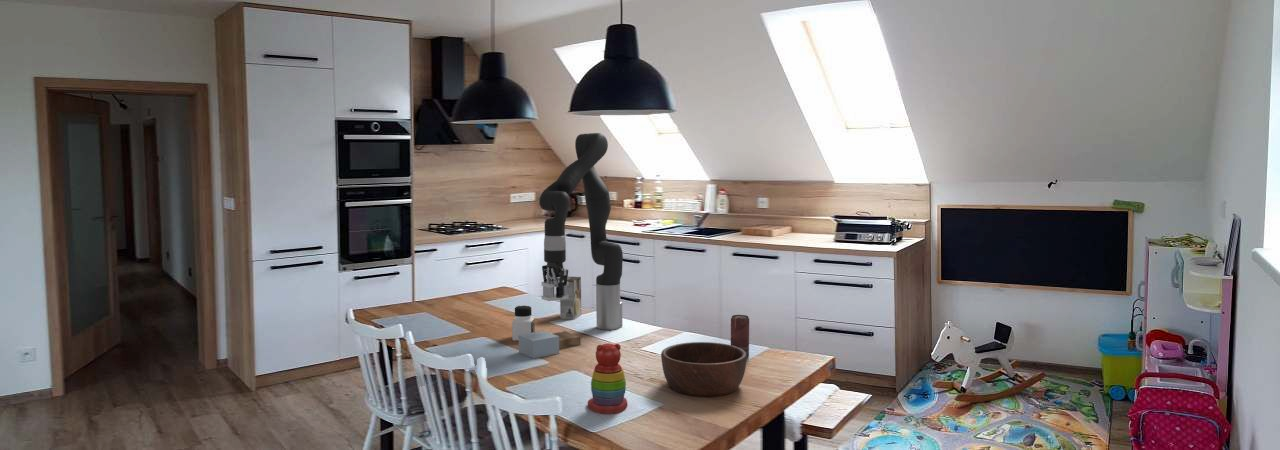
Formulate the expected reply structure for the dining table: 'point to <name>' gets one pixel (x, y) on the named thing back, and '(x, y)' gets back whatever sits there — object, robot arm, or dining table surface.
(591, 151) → the robot arm
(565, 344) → the stand
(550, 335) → the stand
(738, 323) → the can
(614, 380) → the stacking bear
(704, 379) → the wooden bowl
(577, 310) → the coffee box
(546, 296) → the housing
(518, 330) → the medicine bottle
